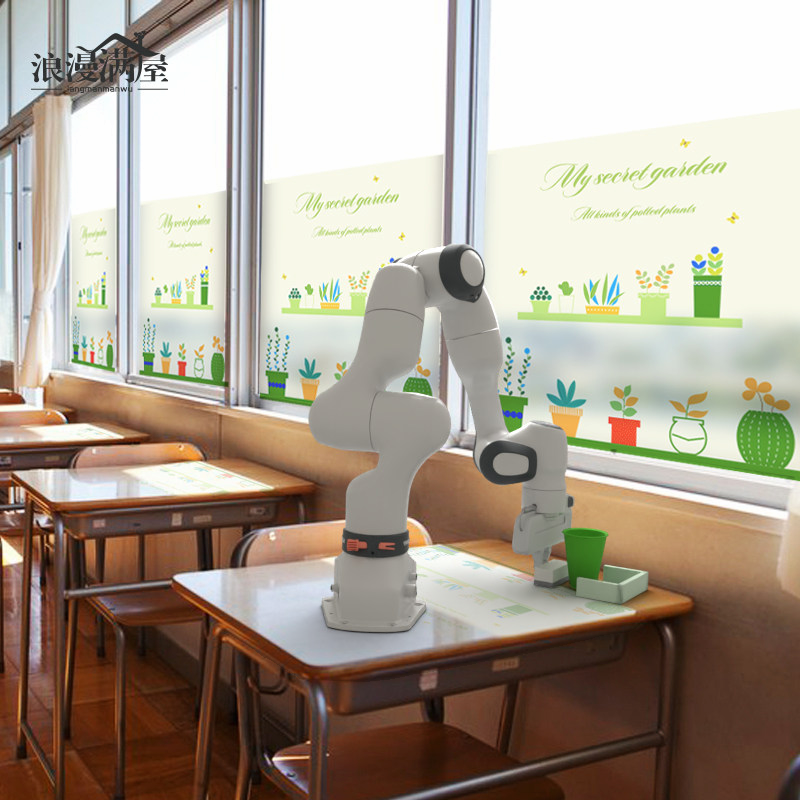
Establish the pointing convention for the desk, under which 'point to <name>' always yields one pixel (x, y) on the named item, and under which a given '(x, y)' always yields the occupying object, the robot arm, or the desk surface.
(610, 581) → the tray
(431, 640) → the desk surface
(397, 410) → the robot arm
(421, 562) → the desk surface
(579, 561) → the cup
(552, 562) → the eraser
